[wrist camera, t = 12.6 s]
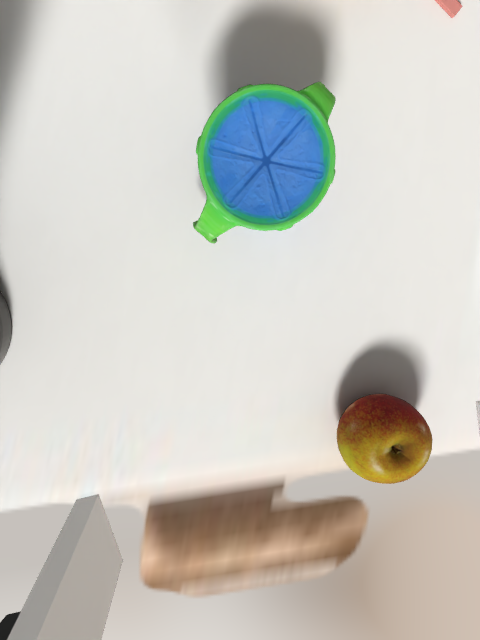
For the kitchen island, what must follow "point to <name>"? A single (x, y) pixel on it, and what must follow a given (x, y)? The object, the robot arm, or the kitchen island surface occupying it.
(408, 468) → the fruit
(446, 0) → the pink stick
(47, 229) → the kitchen island surface
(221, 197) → the snack cup
